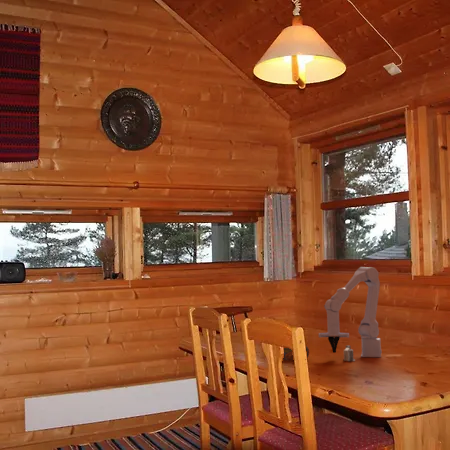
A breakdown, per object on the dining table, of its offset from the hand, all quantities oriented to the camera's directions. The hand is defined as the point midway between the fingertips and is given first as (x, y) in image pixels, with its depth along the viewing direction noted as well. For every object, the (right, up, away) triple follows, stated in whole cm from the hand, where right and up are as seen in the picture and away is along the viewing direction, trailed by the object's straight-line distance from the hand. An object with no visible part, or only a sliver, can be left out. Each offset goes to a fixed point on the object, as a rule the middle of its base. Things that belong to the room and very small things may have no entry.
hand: (334, 352), depth 301 cm
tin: (-19, -4, +1) cm, 20 cm away
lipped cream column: (+6, -3, -1) cm, 7 cm away
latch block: (+7, -3, -4) cm, 9 cm away
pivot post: (+8, -4, +6) cm, 10 cm away
